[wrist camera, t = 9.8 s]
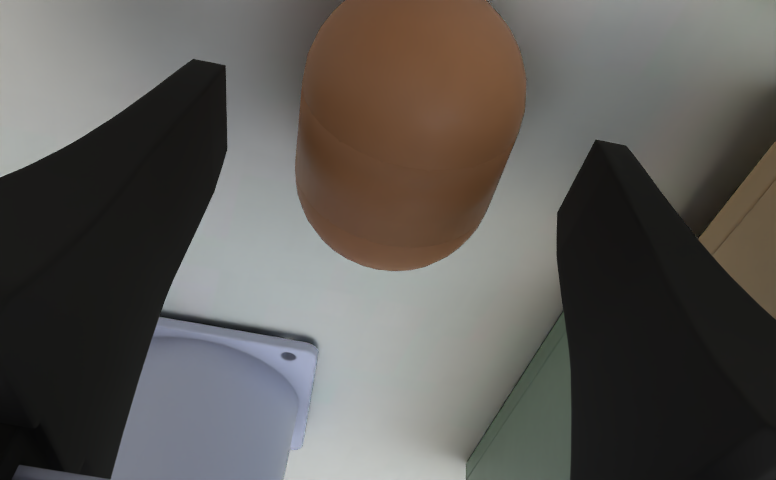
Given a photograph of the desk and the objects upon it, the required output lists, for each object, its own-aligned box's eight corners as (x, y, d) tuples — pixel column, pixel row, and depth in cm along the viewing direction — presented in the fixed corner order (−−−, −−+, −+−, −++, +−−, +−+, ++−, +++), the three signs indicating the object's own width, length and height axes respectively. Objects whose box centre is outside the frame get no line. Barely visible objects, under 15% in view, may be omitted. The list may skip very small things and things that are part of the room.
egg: (466, 193, 17) (464, 326, 14) (307, 163, 17) (271, 291, 14) (551, -40, 12) (573, 87, 9) (333, -86, 12) (287, 28, 9)
